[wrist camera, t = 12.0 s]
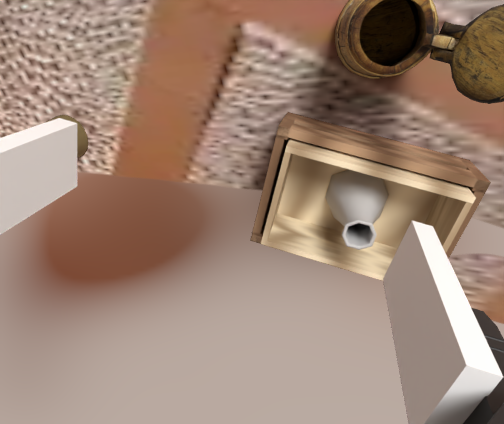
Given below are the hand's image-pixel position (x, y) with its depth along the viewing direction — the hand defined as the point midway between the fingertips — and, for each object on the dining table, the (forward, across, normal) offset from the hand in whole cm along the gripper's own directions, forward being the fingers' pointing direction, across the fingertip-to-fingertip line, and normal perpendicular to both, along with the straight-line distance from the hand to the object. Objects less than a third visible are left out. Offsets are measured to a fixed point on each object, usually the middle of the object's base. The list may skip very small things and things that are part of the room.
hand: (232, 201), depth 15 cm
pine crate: (+32, +10, -10) cm, 35 cm away
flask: (+30, +10, -10) cm, 33 cm away
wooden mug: (+32, +9, +7) cm, 34 cm away
